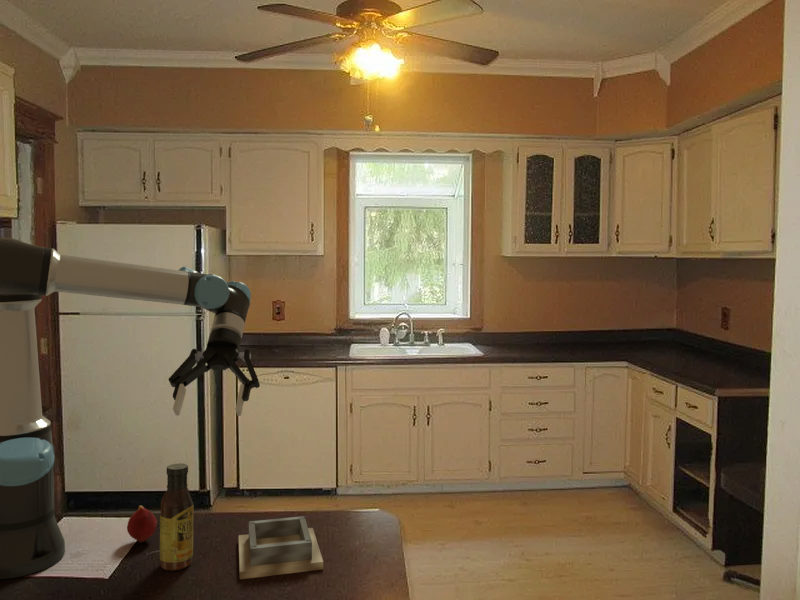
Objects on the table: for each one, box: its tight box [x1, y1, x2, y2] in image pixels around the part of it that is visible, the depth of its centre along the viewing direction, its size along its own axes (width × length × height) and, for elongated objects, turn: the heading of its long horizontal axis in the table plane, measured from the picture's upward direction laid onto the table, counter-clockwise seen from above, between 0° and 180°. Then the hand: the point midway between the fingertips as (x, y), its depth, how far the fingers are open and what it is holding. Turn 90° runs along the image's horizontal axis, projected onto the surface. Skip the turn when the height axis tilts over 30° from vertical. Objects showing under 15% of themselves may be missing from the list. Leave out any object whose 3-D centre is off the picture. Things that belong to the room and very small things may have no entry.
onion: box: [126, 505, 158, 543], centre depth 130 cm, size 6×6×8 cm
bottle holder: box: [238, 515, 324, 580], centre depth 125 cm, size 16×16×5 cm
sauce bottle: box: [159, 462, 194, 572], centre depth 120 cm, size 6×6×20 cm
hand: (207, 412), depth 132 cm, fingers open, 13 cm apart
